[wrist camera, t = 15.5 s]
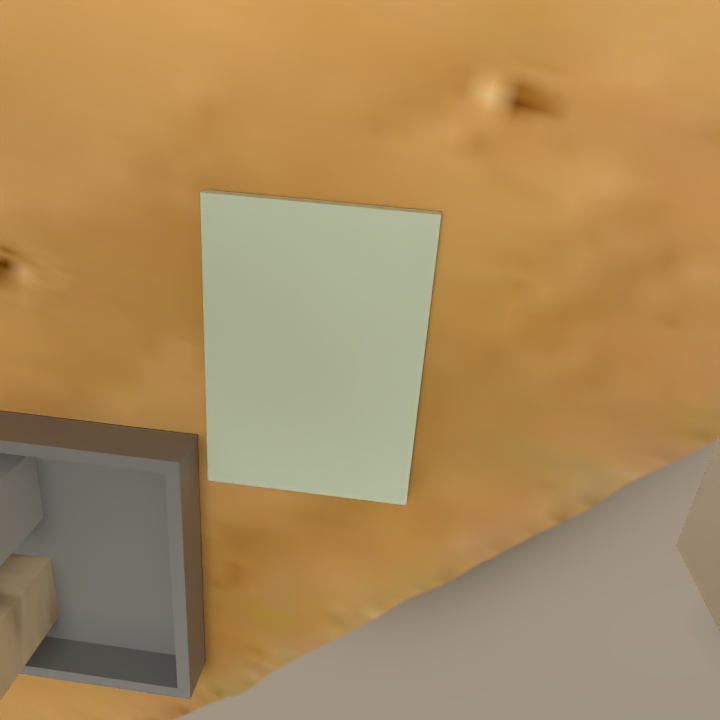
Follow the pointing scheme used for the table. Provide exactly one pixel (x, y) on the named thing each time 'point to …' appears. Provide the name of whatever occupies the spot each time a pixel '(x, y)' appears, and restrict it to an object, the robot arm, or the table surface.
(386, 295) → the mat
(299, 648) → the table surface
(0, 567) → the maple box
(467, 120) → the table surface
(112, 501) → the parts bin
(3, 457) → the grey box
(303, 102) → the table surface
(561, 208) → the table surface
